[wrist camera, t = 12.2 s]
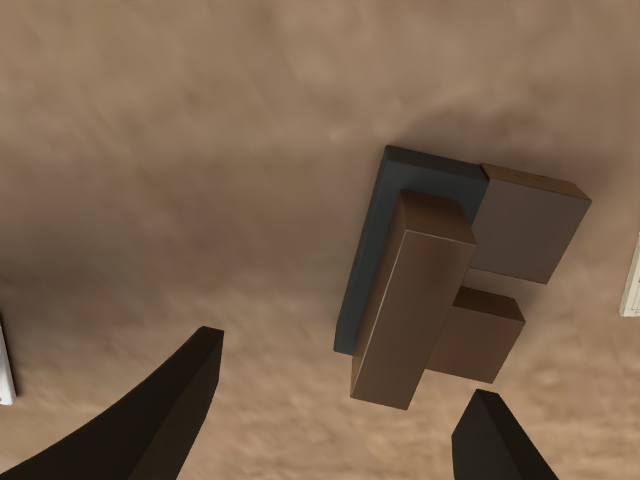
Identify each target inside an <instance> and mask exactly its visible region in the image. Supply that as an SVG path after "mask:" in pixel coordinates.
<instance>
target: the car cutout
mask: <svg viewBox="0 0 640 480" xmlns="http://www.w3.org/2000/svg"><path fill="white" fill-rule="evenodd" d="M619 313H620V315H621V316H622V317H640V233H639V236H638V240H637V244H636V248H635V252H634V256H633V259H632V263H631V267H630V271H629V275H628V279H627V282H626V286H625V290H624V294H623V298H622V302H621V306H620V309H619Z"/></svg>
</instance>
